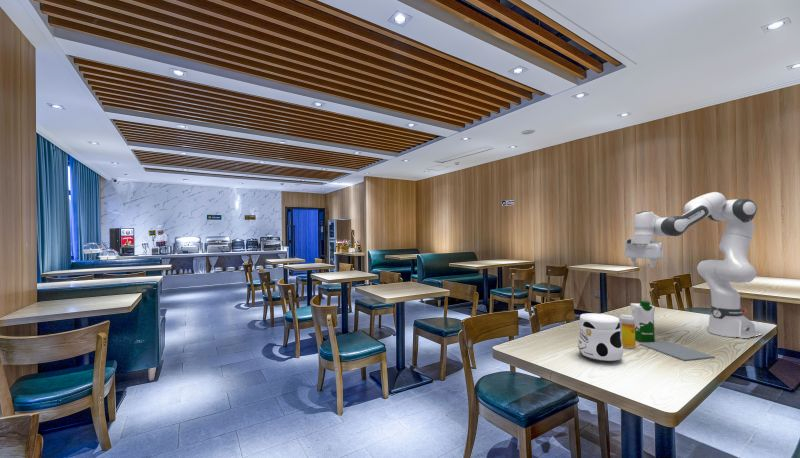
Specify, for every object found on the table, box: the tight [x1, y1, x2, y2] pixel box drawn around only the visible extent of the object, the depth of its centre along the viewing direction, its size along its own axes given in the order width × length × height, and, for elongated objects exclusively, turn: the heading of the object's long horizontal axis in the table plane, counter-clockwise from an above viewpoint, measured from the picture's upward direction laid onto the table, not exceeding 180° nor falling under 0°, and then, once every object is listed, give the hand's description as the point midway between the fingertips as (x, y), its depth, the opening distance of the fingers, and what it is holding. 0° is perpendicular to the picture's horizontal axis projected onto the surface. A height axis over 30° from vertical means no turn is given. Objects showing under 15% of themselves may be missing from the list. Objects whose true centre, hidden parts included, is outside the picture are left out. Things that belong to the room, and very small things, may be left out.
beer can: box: [619, 314, 636, 350], centre depth 164 cm, size 6×6×15 cm
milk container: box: [577, 312, 624, 363], centre depth 151 cm, size 17×17×18 cm
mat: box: [638, 340, 716, 362], centre depth 158 cm, size 16×22×1 cm
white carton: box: [630, 300, 656, 343], centre depth 174 cm, size 9×9×20 cm
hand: (642, 267), depth 181 cm, fingers open, 8 cm apart
